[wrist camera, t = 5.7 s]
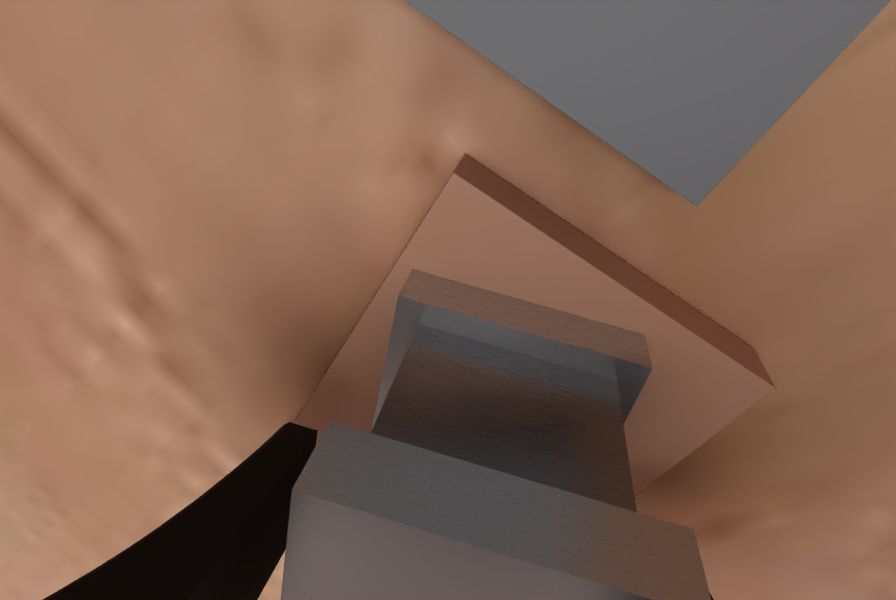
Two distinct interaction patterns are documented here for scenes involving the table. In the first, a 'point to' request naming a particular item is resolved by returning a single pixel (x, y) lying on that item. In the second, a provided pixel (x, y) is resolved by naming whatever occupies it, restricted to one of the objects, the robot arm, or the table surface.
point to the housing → (488, 466)
